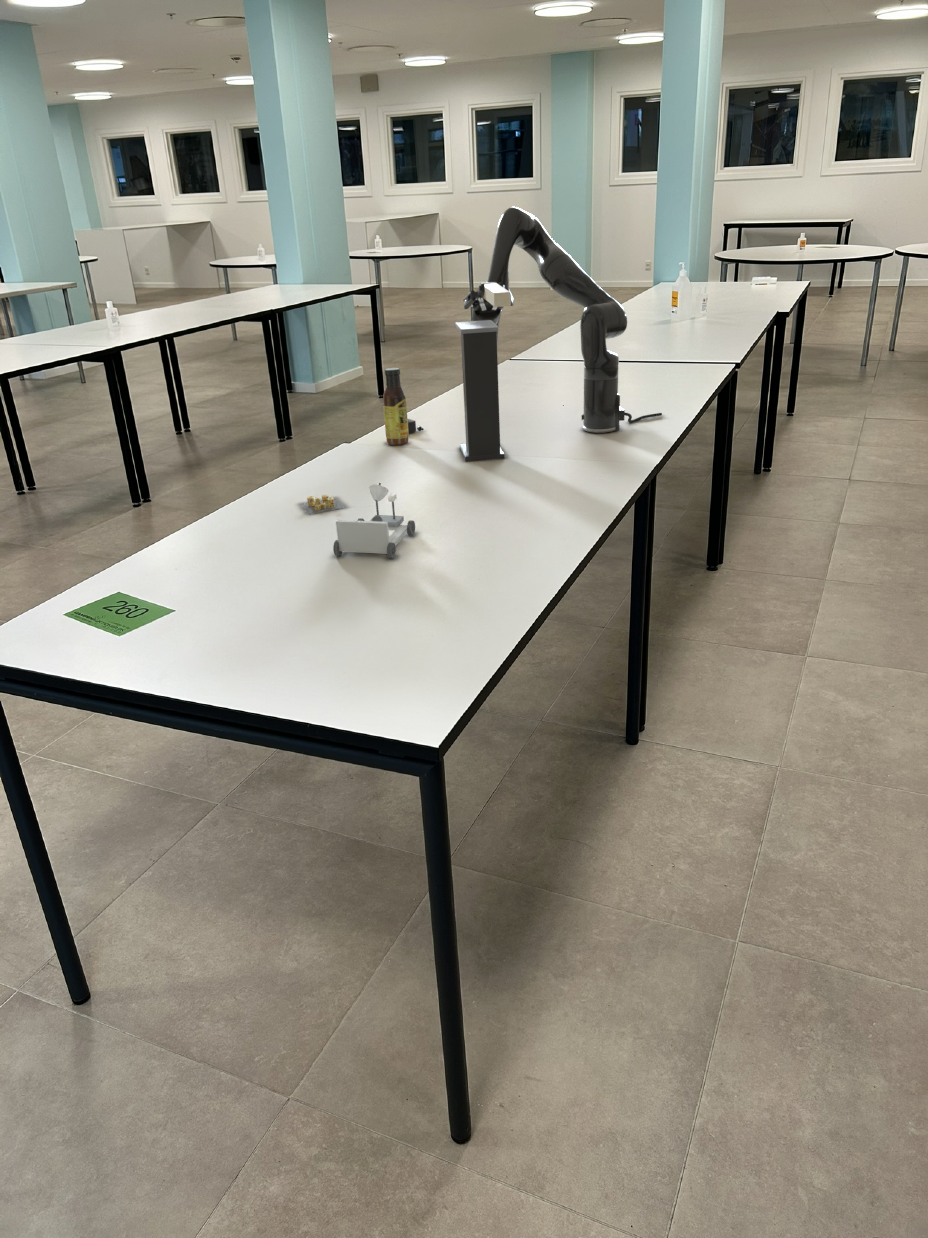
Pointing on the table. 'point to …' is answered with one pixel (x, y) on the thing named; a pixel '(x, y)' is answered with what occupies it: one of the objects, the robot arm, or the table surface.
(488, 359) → the dark grey pillar
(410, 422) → the wireless earbuds
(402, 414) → the sauce bottle
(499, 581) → the table surface
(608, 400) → the robot arm
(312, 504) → the dice set
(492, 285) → the cream rectangular bar
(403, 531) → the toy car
